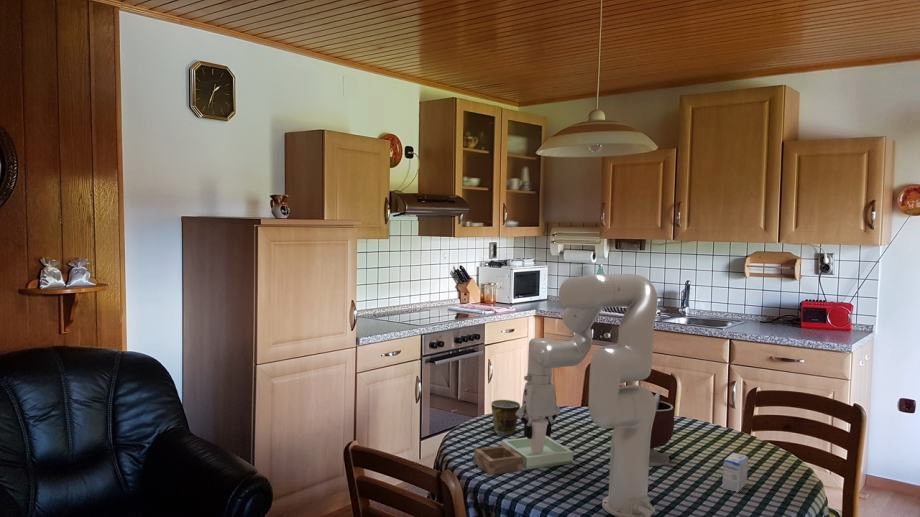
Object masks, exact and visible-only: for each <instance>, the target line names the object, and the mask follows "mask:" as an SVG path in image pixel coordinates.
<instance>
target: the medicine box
mask: <svg viewBox="0 0 920 517" xmlns="http://www.w3.org/2000/svg"><path fill="white" fill-rule="evenodd" d="M748 468H749V456H747V455H744V454H740V453H736V452H732V453H731V454H729V456H727V457H726V458H725V459H724V460H723V470H722V471H723V472H722V485H721V487H722V488H723V489H727V490H731V491H736V492H739V491H740V490H741V489H742V487H743V486H744V485H745V484H746V485H747V480H748ZM723 489H722V490H723ZM742 490H743V489H742ZM742 490H741V491H742ZM741 491H740V492H741ZM740 492H739V493H740Z"/></svg>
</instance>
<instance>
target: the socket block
mask: <svg viewBox="0 0 920 517" xmlns="http://www.w3.org/2000/svg"><path fill="white" fill-rule="evenodd" d="M473 463H474V464H475V463H476V465H477V466H478V467H479V468H480V469H482V470H483V471H484V472H485V473H486V474H487V475H489V476H493V475H499V474H507V473H514V472H522V471H523V466H522V463H523V457H522V456H520V455H519V454H517V453H516V452H515V451H513V450H512V449H510V448H509V447H507V446H506V445H505V446H502V445H498V446H490V447H481V448H475V449H474V450H473Z"/></svg>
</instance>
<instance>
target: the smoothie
mask: <svg viewBox="0 0 920 517" xmlns="http://www.w3.org/2000/svg"><path fill="white" fill-rule="evenodd" d="M547 425H548V420H547V419H546V418H545V417H538V418H533V419H532V422H531V424H530V426H532V438H531V439H530V445H531V451H532V452H535V453H541V452H543V448H544V442H545V436H546V430H547Z"/></svg>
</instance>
